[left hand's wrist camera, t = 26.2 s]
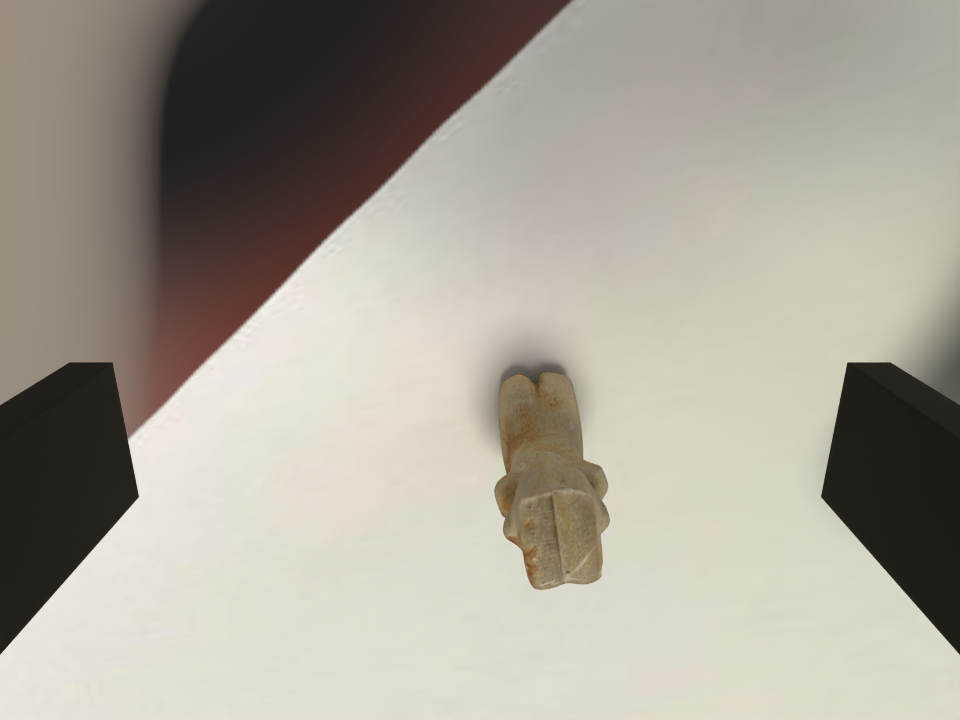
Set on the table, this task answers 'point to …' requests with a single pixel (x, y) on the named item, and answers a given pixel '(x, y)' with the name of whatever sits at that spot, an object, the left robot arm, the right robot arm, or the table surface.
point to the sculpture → (549, 483)
